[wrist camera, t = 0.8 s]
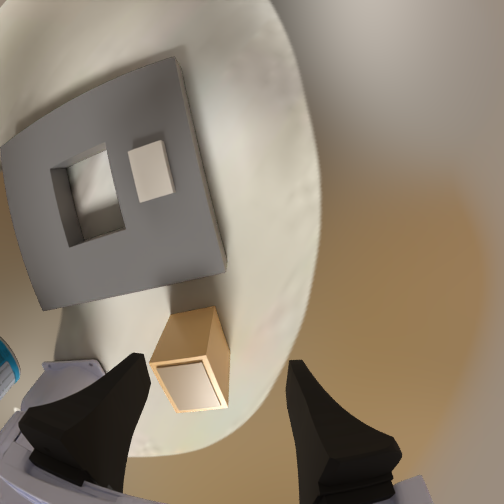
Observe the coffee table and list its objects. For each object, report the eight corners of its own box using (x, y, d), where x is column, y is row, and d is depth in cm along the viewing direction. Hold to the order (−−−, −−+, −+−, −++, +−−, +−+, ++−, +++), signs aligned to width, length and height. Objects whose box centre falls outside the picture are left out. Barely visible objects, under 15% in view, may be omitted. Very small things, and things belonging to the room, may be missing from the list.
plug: (189, 359, 24) (176, 414, 17) (170, 314, 23) (148, 364, 16) (230, 352, 24) (228, 408, 17) (214, 305, 23) (205, 356, 16)
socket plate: (55, 300, 22) (38, 314, 19) (16, 147, 18) (-6, 147, 15) (227, 261, 22) (225, 276, 19) (181, 68, 18) (171, 52, 14)
